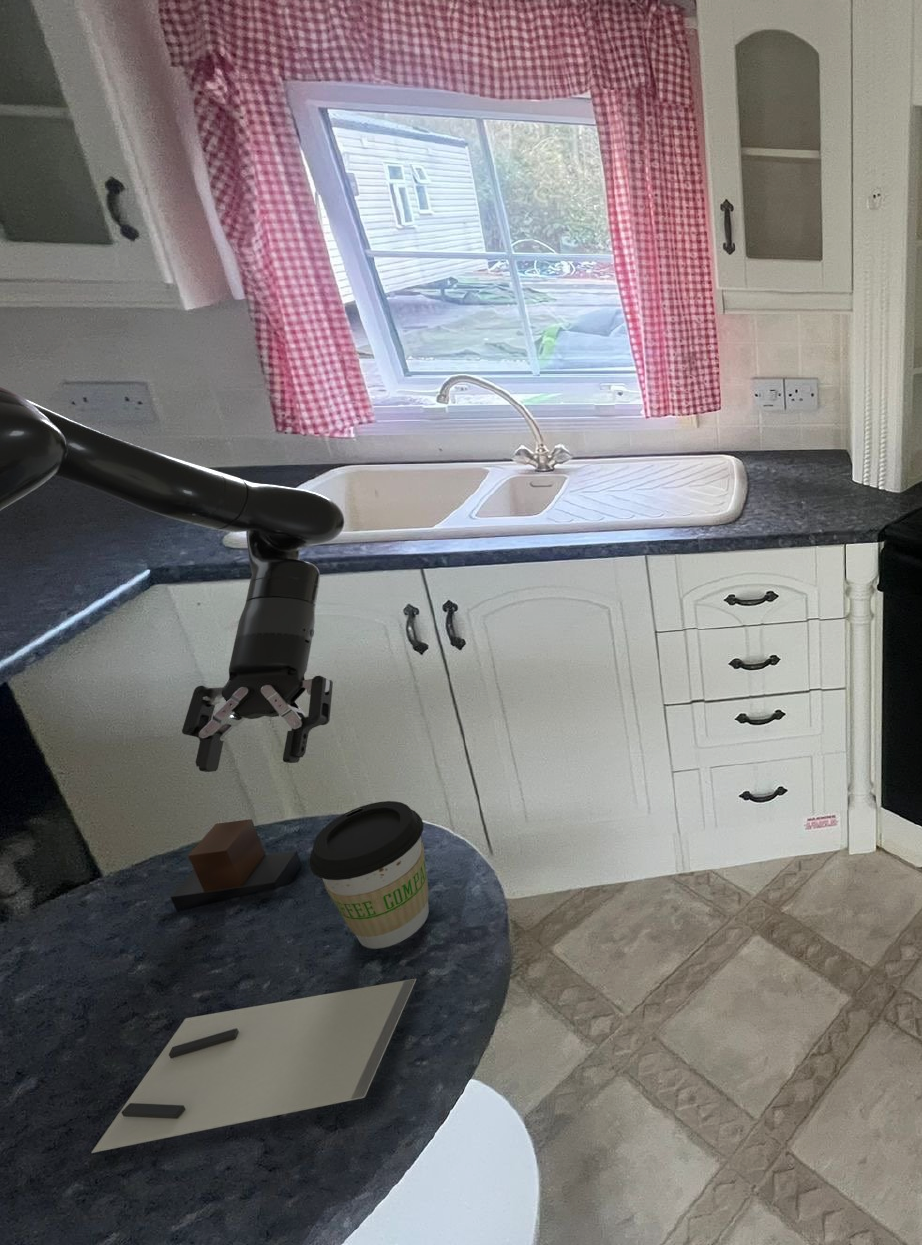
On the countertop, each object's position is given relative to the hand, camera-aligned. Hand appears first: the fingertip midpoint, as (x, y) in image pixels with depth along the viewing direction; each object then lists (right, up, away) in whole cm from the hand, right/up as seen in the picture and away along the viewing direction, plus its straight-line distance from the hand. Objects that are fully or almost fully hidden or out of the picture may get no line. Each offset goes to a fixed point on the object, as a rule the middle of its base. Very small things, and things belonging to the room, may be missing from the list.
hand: (249, 766), depth 94 cm
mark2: (+16, -22, -26) cm, 38 cm away
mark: (+15, -20, -21) cm, 33 cm away
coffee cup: (+23, -17, -7) cm, 30 cm away
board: (+22, -22, -21) cm, 37 cm away
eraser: (+2, -14, -3) cm, 14 cm away
